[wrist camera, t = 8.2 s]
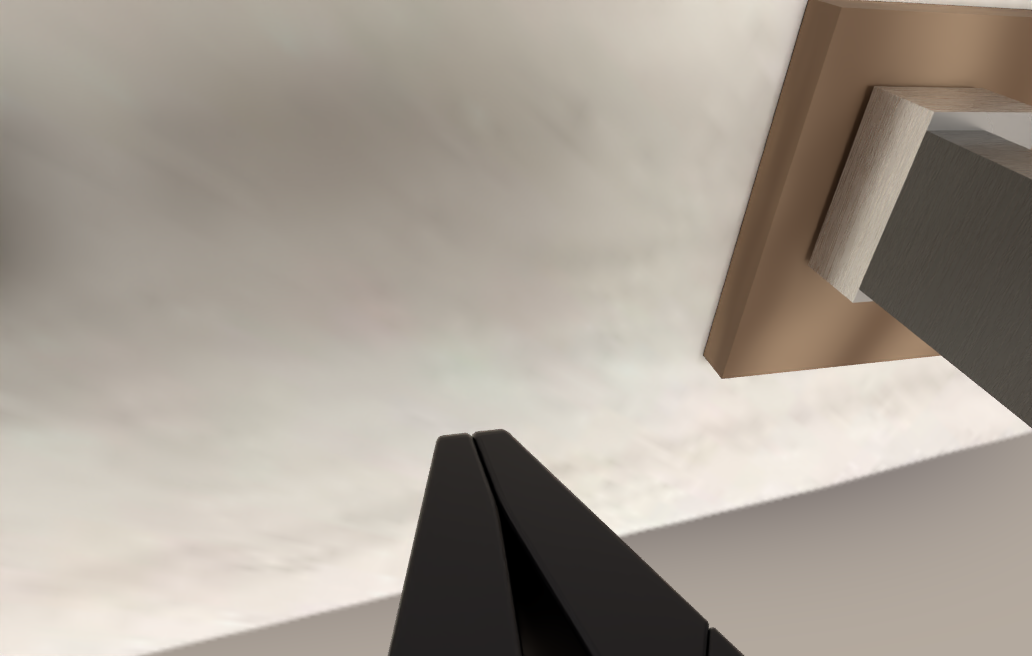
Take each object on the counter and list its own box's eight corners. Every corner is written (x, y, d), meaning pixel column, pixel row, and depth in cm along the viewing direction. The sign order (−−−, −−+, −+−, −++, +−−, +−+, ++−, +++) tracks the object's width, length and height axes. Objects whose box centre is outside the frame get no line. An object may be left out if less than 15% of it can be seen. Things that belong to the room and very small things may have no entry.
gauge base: (703, 355, 27) (815, 498, 21) (809, -3, 20) (1025, 64, 14) (967, 330, 31) (1128, 447, 25) (1141, 15, 23) (1429, 75, 17)
